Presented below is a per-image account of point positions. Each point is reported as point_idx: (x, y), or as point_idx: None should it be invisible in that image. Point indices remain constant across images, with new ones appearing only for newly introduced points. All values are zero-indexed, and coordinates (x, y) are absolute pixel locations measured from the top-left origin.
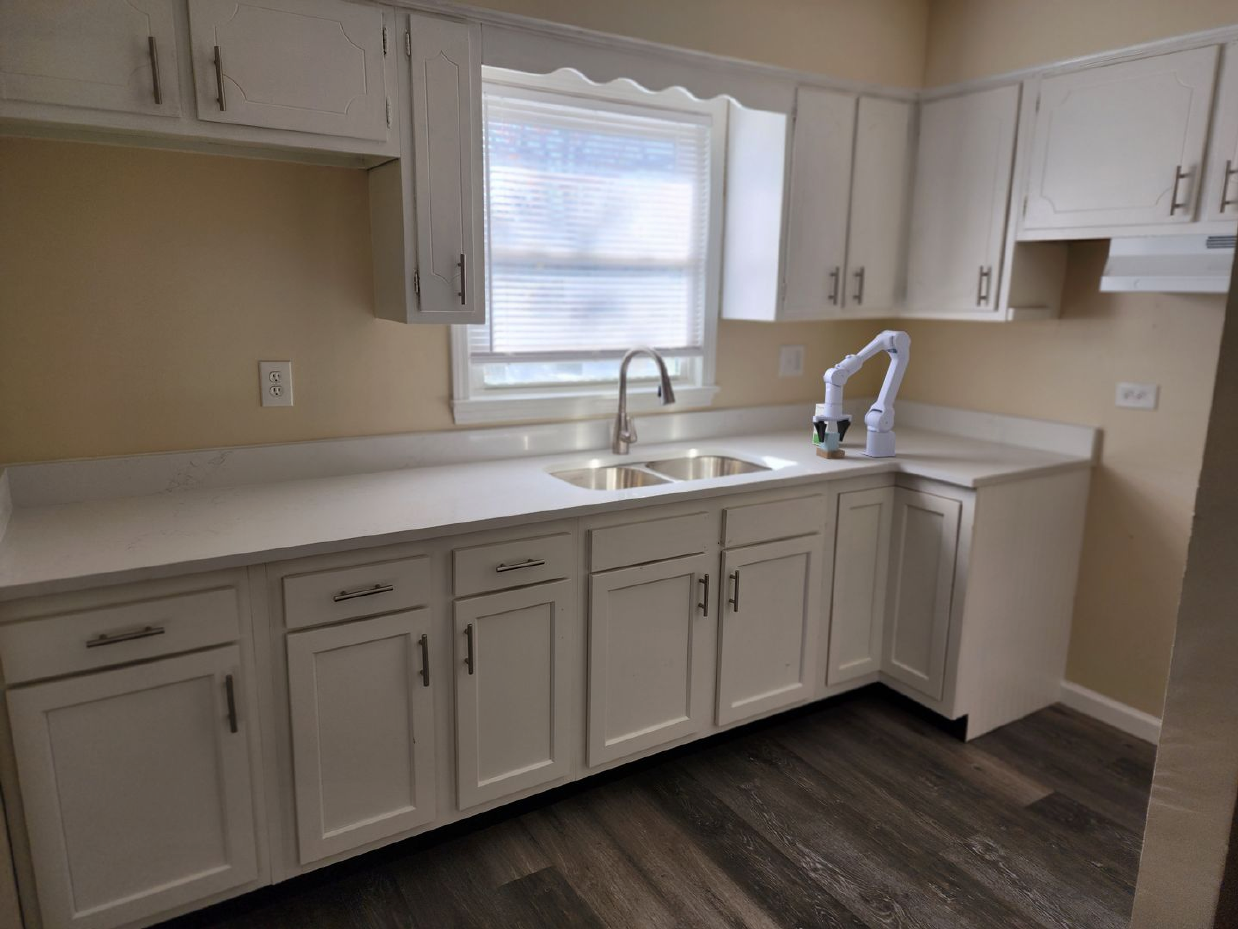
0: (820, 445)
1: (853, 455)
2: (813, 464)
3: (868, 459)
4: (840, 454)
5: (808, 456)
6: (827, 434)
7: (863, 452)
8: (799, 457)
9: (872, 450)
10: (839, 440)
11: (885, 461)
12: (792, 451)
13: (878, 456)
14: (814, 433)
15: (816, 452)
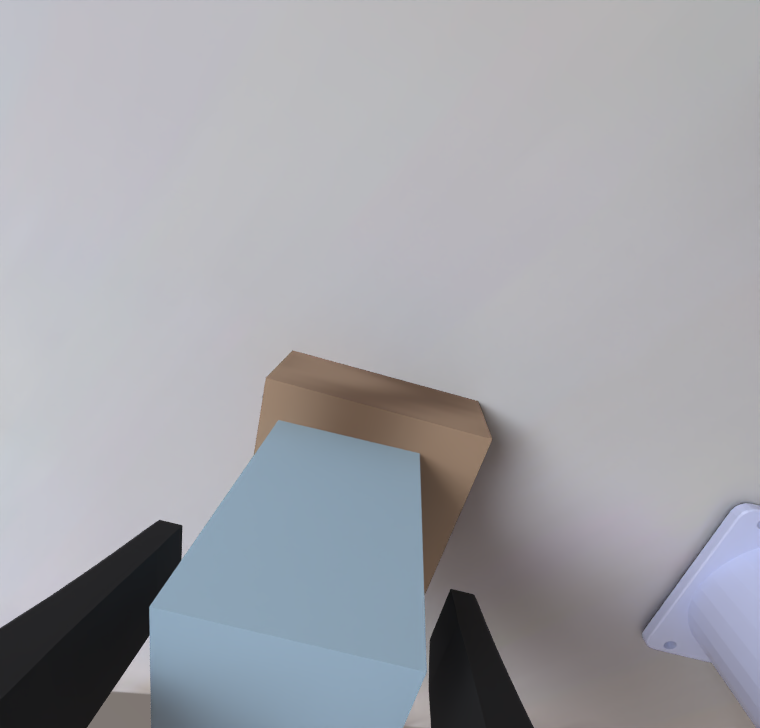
0: (264, 441)
1: (593, 514)
2: (60, 559)
3: (542, 639)
4: None
5: (183, 357)
6: (161, 719)
7: (741, 535)
8: (78, 351)
9: (716, 659)
10: (439, 629)
11: (578, 711)
12: (171, 39)
13: (681, 651)
14: None
15: (283, 360)
